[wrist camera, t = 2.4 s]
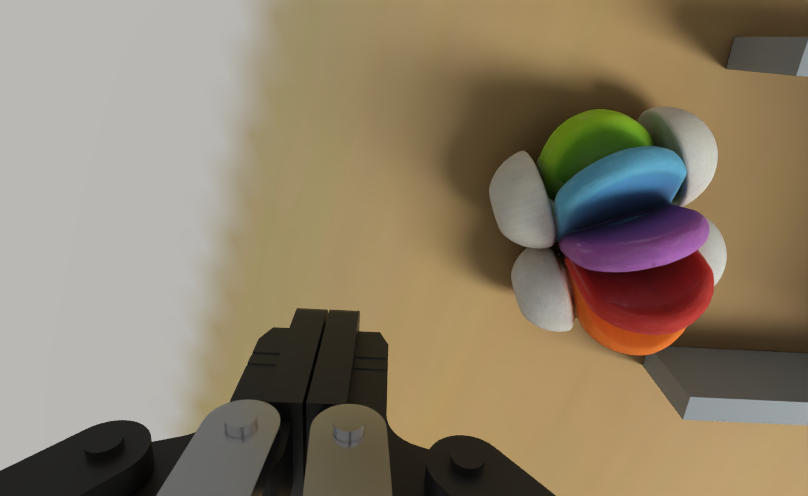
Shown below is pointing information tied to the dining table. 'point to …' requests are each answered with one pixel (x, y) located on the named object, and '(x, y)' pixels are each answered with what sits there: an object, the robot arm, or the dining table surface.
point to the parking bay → (740, 369)
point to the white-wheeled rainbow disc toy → (614, 227)
